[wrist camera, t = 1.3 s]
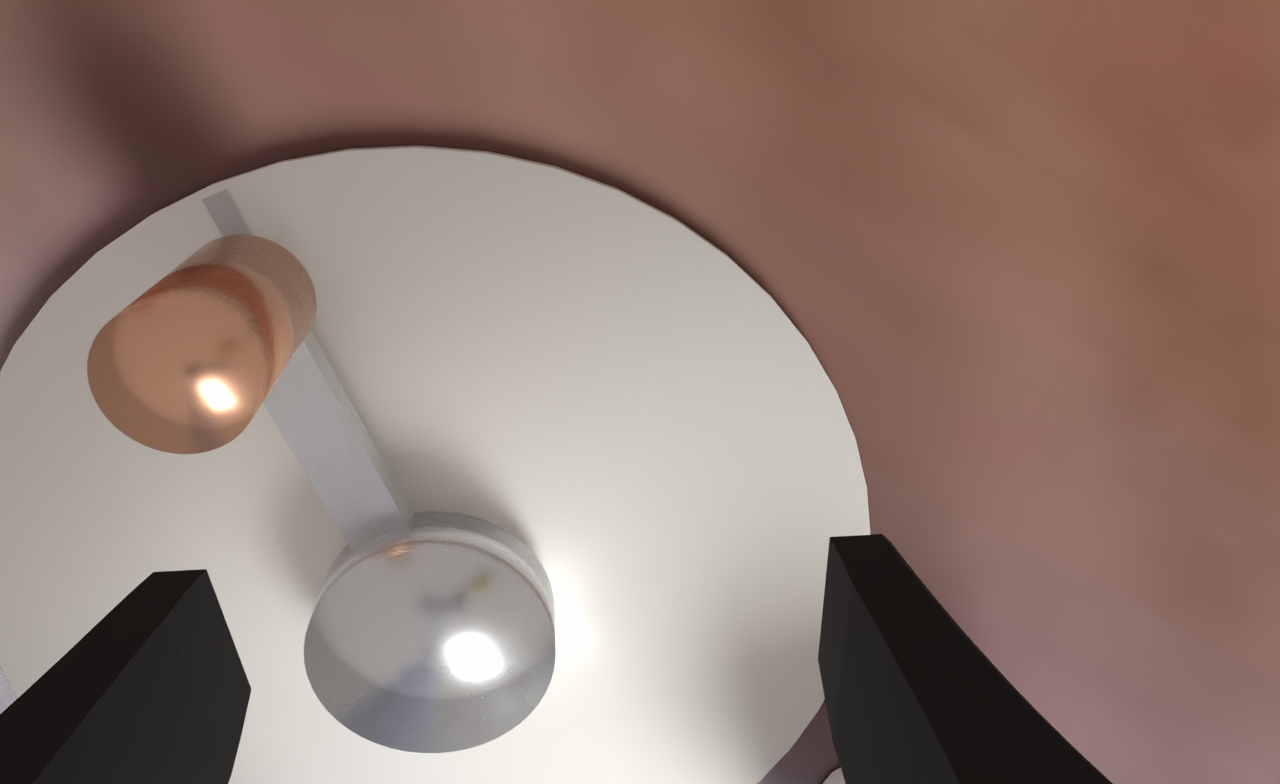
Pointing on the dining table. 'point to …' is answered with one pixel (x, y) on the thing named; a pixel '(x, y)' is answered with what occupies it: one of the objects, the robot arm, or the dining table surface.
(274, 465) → the white plate
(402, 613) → the white and tan pieces
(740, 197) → the dining table surface
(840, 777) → the white cup
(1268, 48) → the dining table surface
